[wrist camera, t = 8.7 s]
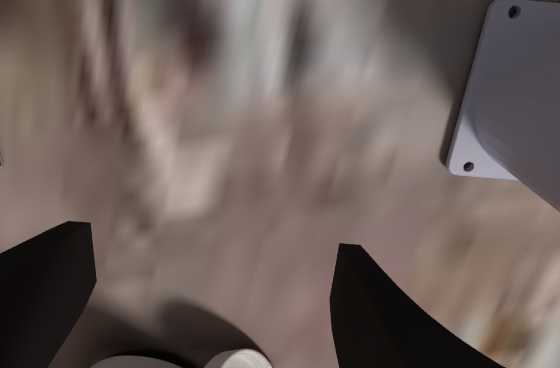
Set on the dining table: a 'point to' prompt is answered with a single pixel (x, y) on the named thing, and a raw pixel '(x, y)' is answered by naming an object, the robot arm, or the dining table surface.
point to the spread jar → (182, 360)
